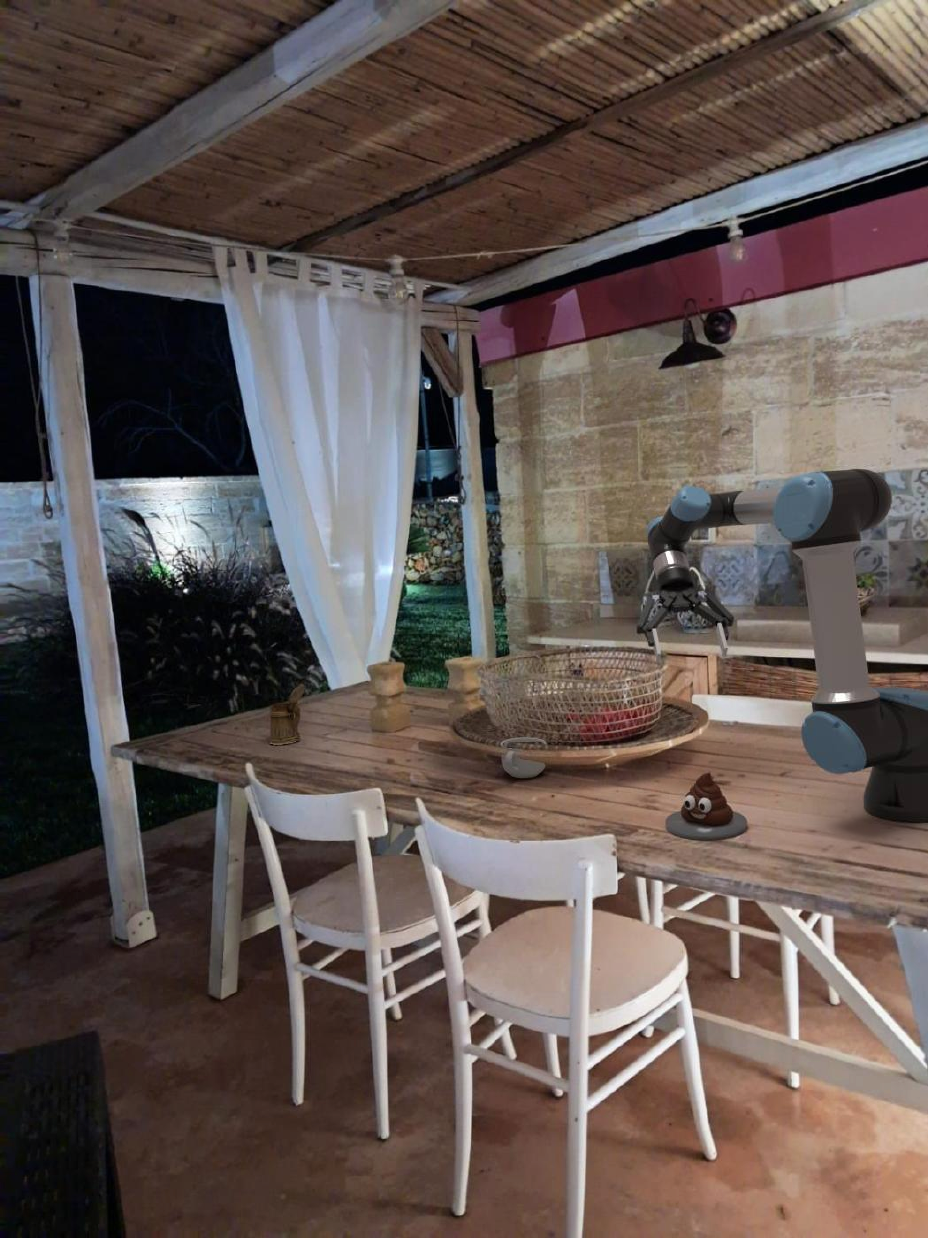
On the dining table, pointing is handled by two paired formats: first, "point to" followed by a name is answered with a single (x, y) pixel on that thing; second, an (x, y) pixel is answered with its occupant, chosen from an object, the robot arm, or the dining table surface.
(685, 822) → the charcoal plate
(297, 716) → the wooden mug
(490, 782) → the dining table surface
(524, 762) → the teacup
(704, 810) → the poop emoji
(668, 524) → the robot arm
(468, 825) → the dining table surface
